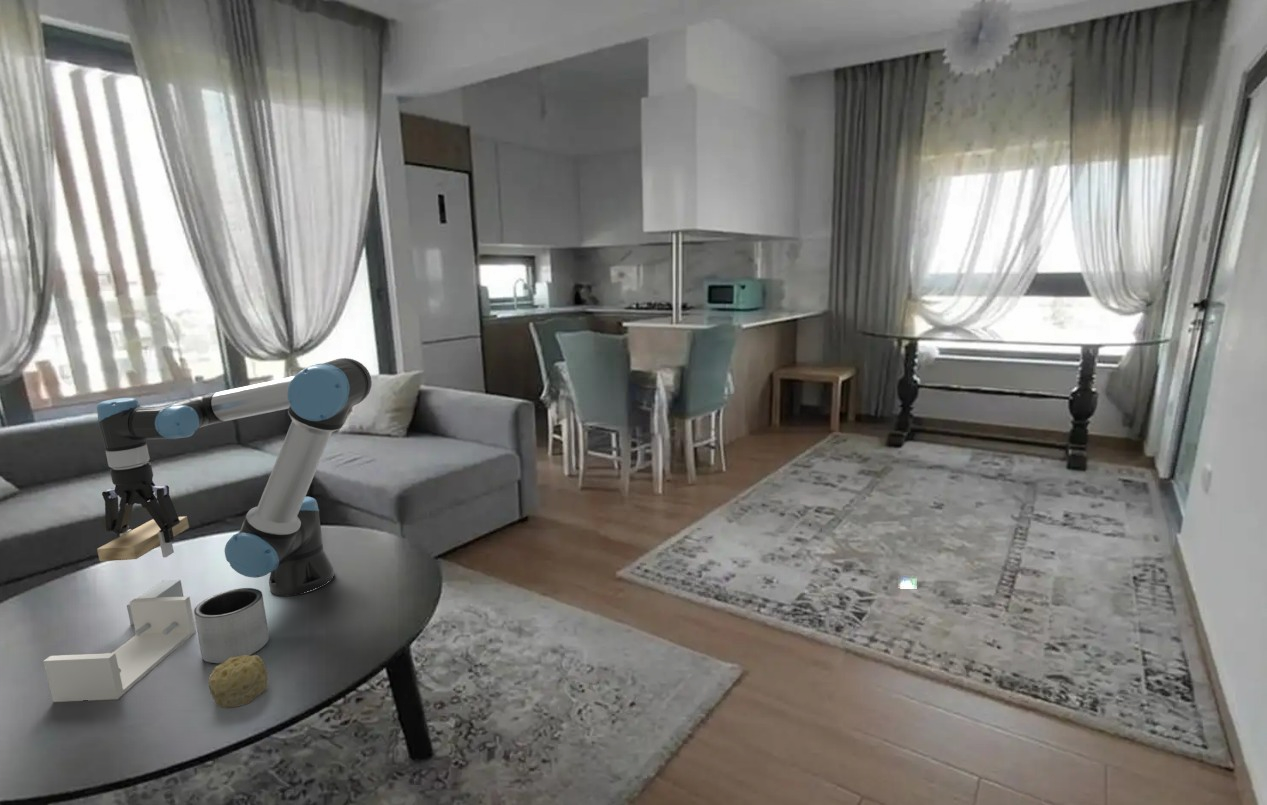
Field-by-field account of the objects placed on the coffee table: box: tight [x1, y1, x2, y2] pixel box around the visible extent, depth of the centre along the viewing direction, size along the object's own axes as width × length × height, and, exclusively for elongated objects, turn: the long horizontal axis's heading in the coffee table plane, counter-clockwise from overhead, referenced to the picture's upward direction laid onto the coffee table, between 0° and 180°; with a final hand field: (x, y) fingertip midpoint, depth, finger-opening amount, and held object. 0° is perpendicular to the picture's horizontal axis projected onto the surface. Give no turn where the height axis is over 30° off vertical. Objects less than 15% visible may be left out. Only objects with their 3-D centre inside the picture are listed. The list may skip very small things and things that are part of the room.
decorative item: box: [208, 654, 269, 709], centre depth 119 cm, size 10×10×10 cm
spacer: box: [126, 579, 185, 625], centre depth 151 cm, size 4×12×5 cm, turn 2°
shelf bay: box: [43, 595, 197, 703], centre depth 130 cm, size 12×23×9 cm, turn 2°
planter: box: [193, 587, 270, 665], centre depth 134 cm, size 13×12×11 cm
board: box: [96, 515, 190, 562], centre depth 148 cm, size 8×18×3 cm, turn 2°
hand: (149, 555), depth 149 cm, fingers closed on board, 8 cm apart
